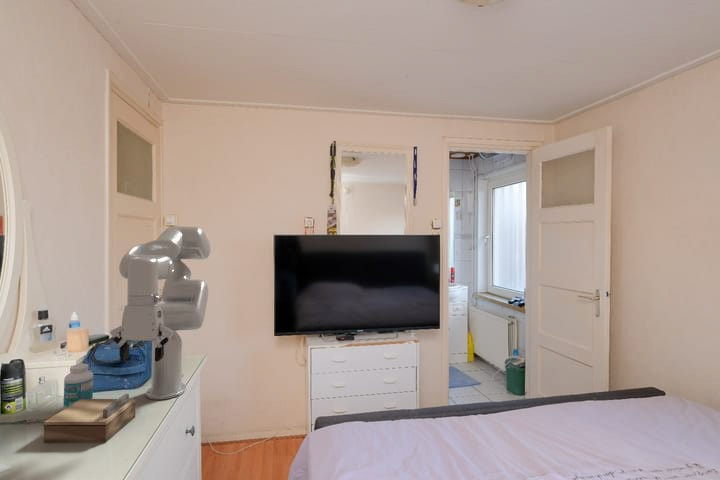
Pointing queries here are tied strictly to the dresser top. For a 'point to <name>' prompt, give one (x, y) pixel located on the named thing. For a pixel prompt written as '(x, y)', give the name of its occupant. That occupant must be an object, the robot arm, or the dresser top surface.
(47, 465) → the dresser top surface
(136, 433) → the dresser top surface
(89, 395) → the pill bottle
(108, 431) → the box
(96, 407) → the lid
